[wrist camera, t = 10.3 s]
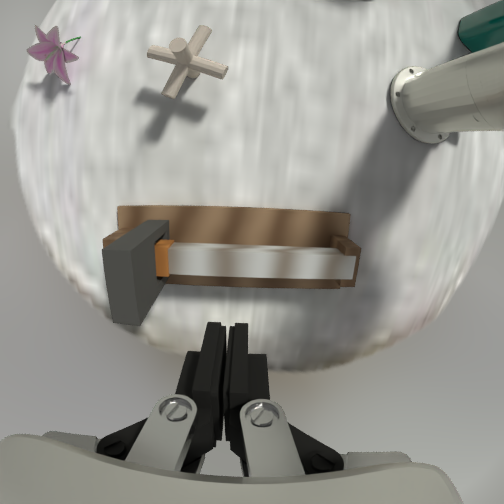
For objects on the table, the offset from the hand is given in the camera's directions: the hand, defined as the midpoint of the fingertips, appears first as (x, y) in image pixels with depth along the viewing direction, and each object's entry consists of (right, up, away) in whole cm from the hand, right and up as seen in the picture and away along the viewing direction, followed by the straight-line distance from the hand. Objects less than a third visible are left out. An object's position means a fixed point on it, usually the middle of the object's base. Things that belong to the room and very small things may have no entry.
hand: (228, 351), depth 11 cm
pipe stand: (-2, +5, +27) cm, 28 cm away
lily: (-28, +35, +17) cm, 48 cm away
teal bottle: (+43, +45, +16) cm, 65 cm away
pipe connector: (-7, +28, +20) cm, 35 cm away
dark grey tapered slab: (-12, +5, +26) cm, 28 cm away
